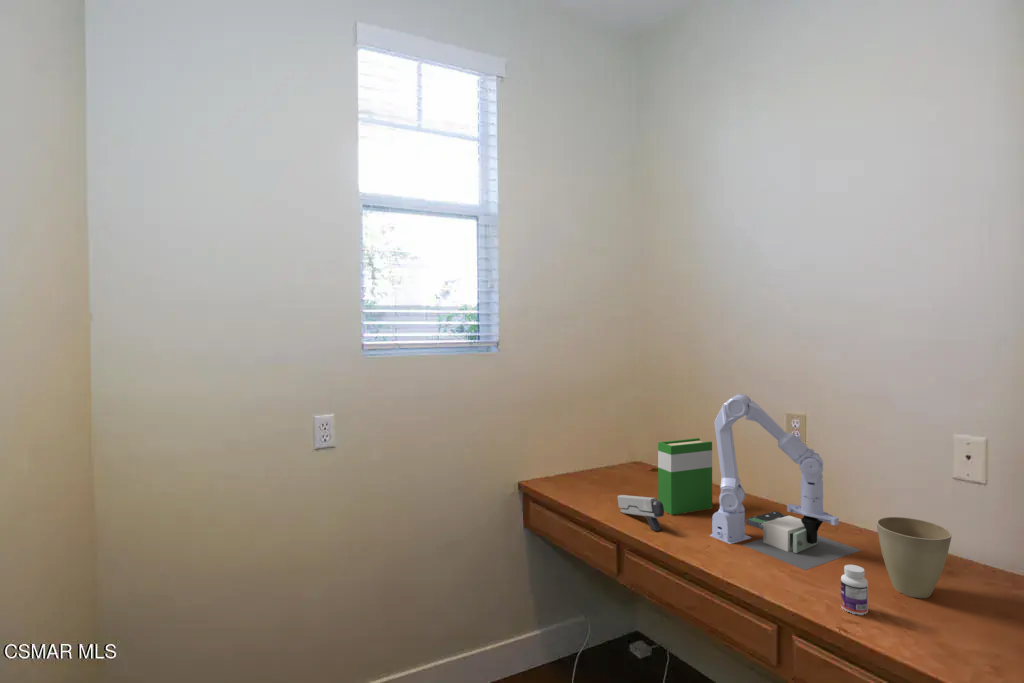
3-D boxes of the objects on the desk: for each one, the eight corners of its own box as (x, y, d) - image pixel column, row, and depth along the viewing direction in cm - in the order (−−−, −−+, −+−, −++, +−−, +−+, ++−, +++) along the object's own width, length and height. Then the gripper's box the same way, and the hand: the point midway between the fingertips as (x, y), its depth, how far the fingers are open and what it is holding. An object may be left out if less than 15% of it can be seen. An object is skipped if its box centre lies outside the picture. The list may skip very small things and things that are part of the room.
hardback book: (698, 502, 208) (698, 438, 207) (712, 508, 201) (712, 441, 200) (658, 508, 201) (658, 442, 201) (671, 515, 194) (671, 446, 194)
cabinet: (787, 551, 161) (787, 530, 161) (763, 542, 168) (763, 522, 168) (813, 543, 167) (813, 523, 167) (788, 534, 174) (789, 515, 174)
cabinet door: (799, 554, 159) (799, 535, 159) (793, 552, 160) (793, 533, 160) (821, 544, 166) (821, 526, 166) (814, 542, 167) (815, 524, 167)
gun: (662, 532, 175) (657, 499, 177) (619, 524, 198) (616, 495, 200) (668, 531, 176) (664, 498, 178) (625, 523, 199) (622, 494, 201)
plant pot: (869, 591, 138) (869, 527, 137) (884, 572, 148) (884, 512, 148) (945, 613, 127) (946, 544, 127) (955, 591, 138) (956, 526, 137)
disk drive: (774, 518, 191) (745, 526, 184) (774, 510, 191) (745, 517, 184) (803, 528, 182) (773, 536, 175) (803, 519, 182) (774, 527, 175)
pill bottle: (842, 601, 133) (843, 561, 133) (869, 608, 130) (869, 567, 129) (838, 610, 129) (838, 569, 129) (866, 618, 125) (866, 575, 125)
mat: (805, 571, 149) (805, 570, 149) (741, 546, 167) (741, 544, 167) (861, 551, 162) (861, 550, 162) (797, 529, 179) (797, 528, 179)
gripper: (845, 500, 158) (845, 548, 158) (797, 487, 170) (797, 532, 171) (829, 504, 154) (830, 553, 154) (782, 491, 167) (782, 536, 167)
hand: (812, 542), depth 162 cm, fingers closed
